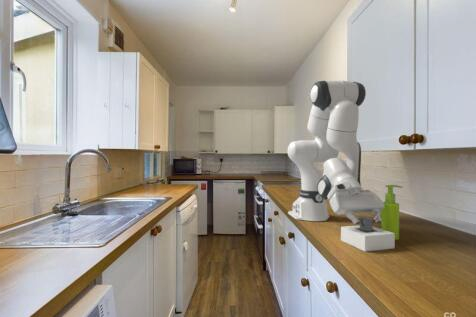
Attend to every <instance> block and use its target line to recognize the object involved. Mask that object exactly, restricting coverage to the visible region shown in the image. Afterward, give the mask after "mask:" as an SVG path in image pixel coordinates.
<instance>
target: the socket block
mask: <svg viewBox="0 0 476 317" xmlns="http://www.w3.org/2000/svg"><path fill="white" fill-rule="evenodd" d="M340 241H341V242H344V243H346V244H347V245H350V246H353V247H354V248H357V249H358V250H360V251H363V252H372V251H383V250H391V249H395V245H396V244H395V242H396V240H395V233H392V232H389V231H386V230H383V229H381V227H376V226H373V232H368V233H365V232H363V231H360V224H359V225H358V224H357V225H347V226H345V225H344V226H341V227H340Z"/></svg>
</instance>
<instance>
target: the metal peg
mask: <svg viewBox="0 0 476 317" xmlns="http://www.w3.org/2000/svg"><path fill="white" fill-rule="evenodd" d="M373 220H374V218H372V217H367V216H360V217H359V221H360V222H359V225H360V231H363V232H365V233H368V232H373V223H374V222H373Z"/></svg>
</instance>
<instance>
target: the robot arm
mask: <svg viewBox="0 0 476 317" xmlns="http://www.w3.org/2000/svg"><path fill="white" fill-rule="evenodd" d="M366 92H367V91H366V87H365V85H364V84H362V83H361V82H357V81H349V80H327V81H326V80H319V81H316V82H314V84H313V85H312V87H311V89H310V92H309V93H310V94H309V96H310V97H309V98H310V102H311V103H312V106H311V108H310V113H309V117H308V122H307V124H306V125H307V127H306V128H307V131H308V133H310V134H311V135H312V136H314V137H315V138H314V139H299V140H294V141H290V143H289V145H288V146H287V152H286V153H287V156H288V158H289V160H290V161H291V162H293V163H294V164H295V165H296V166H297V168H298V170H299V174H300V182H301V184H300V186H301V187H300V188H301V189H300V190H298V192H299V195H298V196H299V197H297V199H296V200H294V201H293V203H292V204H291V209H292V210H289V211H288V212H287V214H288V215H289V216H291V218H294V219H295V220H298V221H308V222H325V221H328V219H329V218H330V215H329V213H328V205H327V204H328V203H327V201H329V205H330V208H331V209H332V211H333V213H335V214H336V215H337V216H338V215H339V216H340V215H345V217H347V219H349V220H350V221H351V222H352V223H353V225H358V224H360V218H359V217H357V216H355V214H367V213H369V214H370V213H372V215H374V218H373V220H374V221H375V223H380V222H381V221H382V219H381V215H380V212H381V210H383V208H384V207H385V205H384V203H383V202H384V201H383V200H382V199H381V198H380V196H378V195H377V193H376V192H374V191H371V190H369V189H365V190H364V189H363V187H362V183H361V166H362V165H361V162H362V147H361V144H360V142H359V141H358V139H357V134H358V133H357V132H358V127H359V126H358V125H359V117H360V116H359V112H360V111H359V107H360V106H361V105H363V103H364V102H365V100H366ZM339 153H343V154H344V155H345V158H346V162H345V160H344V159H342V158H340V157H338V156H339ZM314 163H323V165H322V166H323V172H322V171H320V170H319V169H317V168H316V167H315V164H314Z"/></svg>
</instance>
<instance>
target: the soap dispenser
mask: <svg viewBox="0 0 476 317" xmlns="http://www.w3.org/2000/svg"><path fill="white" fill-rule="evenodd" d="M385 188H387V192H386V193H385V194H384V197H385V198H384V199H385V200H384V201H382V202H383V203H384V205H385V207H384V208H383V210H381V211H380V212H381V215H380V217H381V219H382V221H381V224H380V229H383V230H386V231H389V232H392V233H395V241H397V240H400V203H397V202H396V194H395V193H394V188H401V189H402V188H403V186H401V185H397V184H387V185H386V184H385Z"/></svg>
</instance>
